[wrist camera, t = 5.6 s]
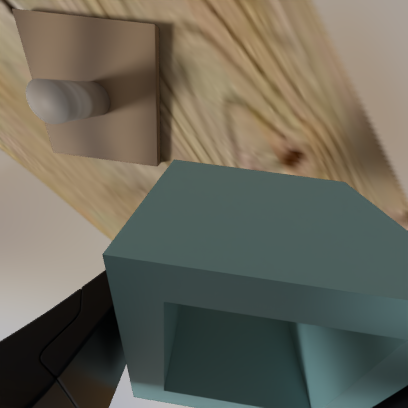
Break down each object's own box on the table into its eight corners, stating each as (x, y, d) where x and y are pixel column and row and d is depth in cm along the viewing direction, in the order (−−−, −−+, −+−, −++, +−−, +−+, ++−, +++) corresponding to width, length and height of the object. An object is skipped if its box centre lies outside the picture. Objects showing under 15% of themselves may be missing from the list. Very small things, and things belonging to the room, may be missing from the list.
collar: (344, 182, 7) (519, 317, 3) (289, 291, 10) (332, 431, 6) (173, 159, 7) (102, 254, 3) (170, 273, 11) (134, 397, 6)
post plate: (159, 28, 14) (119, -9, 9) (160, 162, 19) (135, 189, 14) (24, 13, 14) (-89, -30, 9) (61, 149, 19) (1, 171, 14)
